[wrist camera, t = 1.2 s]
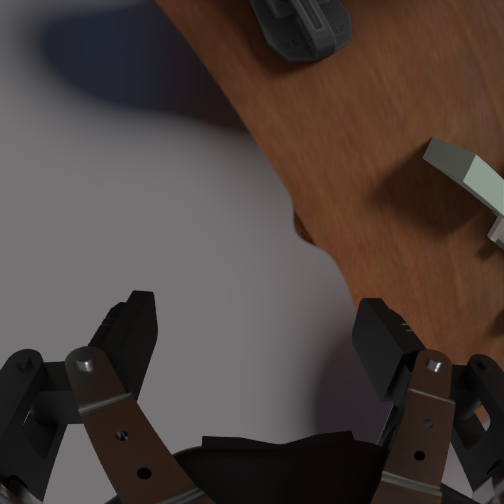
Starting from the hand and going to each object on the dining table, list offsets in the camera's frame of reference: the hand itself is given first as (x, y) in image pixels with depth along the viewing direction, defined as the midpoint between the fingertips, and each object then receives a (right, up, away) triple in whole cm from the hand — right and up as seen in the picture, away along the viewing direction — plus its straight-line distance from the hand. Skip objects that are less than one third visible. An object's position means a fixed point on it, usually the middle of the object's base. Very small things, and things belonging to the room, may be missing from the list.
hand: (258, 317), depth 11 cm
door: (+26, +12, +19) cm, 34 cm away
